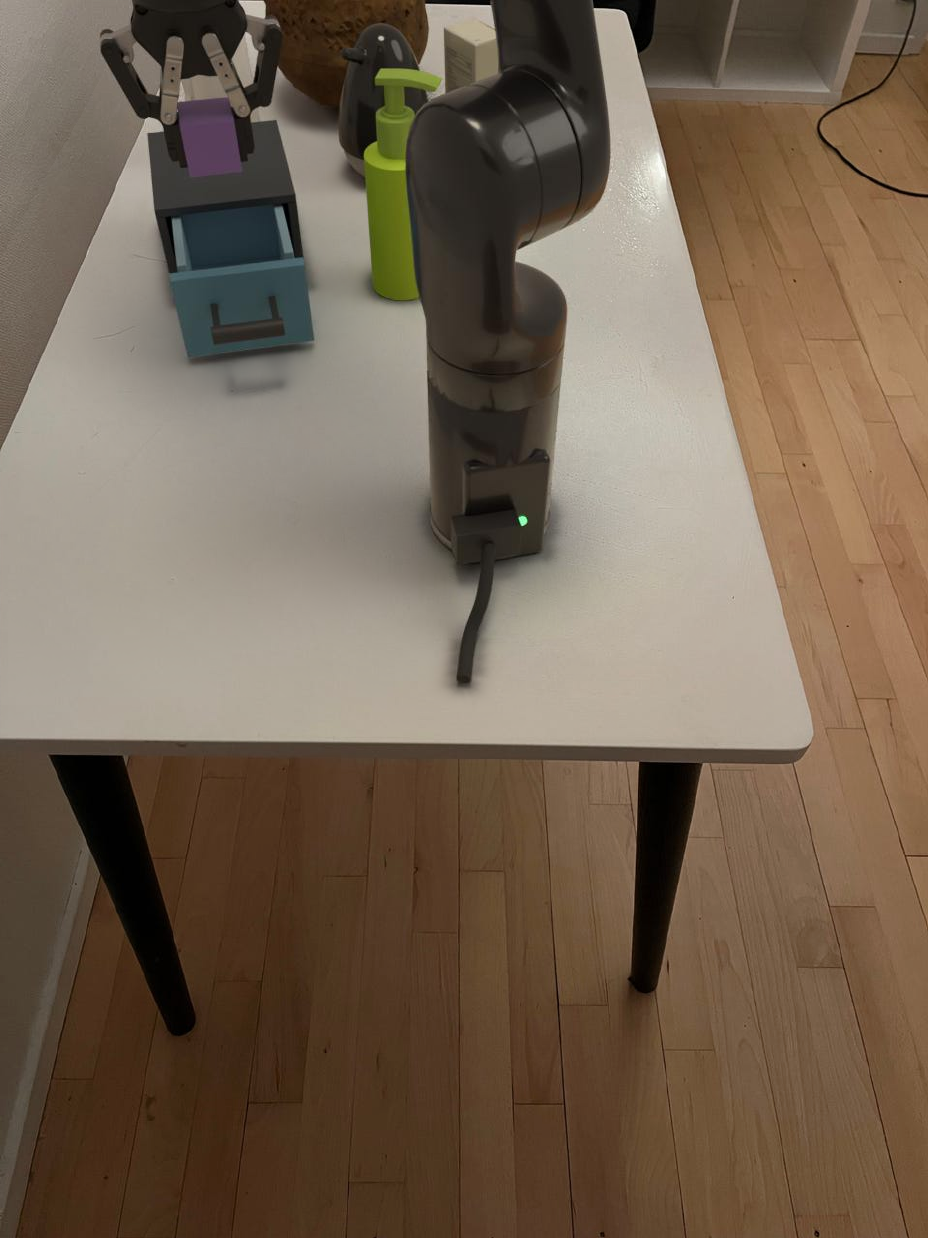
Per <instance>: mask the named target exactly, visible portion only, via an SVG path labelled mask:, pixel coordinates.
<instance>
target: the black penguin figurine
mask: <svg viewBox="0 0 928 1238" xmlns="http://www.w3.org/2000/svg"><path fill="white" fill-rule="evenodd" d="M341 57H342V59H344V60H348V62H347V66H346V70H345V74H344V79H343V84H342V90H341V96H340V105H339V108H338V122H337V124H338V125H337V126H338V127H337V130H338V134H337V135H338V142H339V145H340V147H341V149H342V150H343V153H344V155H345V157H346V159H347V161H348V163H349V164H350V166H351V167H352V168H353V169H354V171H356V173H357V174H359V175H360V176H362V177H363V178H365V165H364V152H365V150H366V148H367V147H368V146H369V145H371V144H372V143H374V142H377V130H376V112H377V111H378V110H379V109H380V108H382V107H384V106H385V97H384V86H381V85H375V77H376V76H377V74H378V72H379V70H380V69H412V70H418V71H421V68H420V64H419V65H418V63H417V60H416V58H415V55H414V53H413V51H412V49H411V47H410V45H409V43H408V41H407V40H406V38H405V37H404V35H403V34H402V33H401V32H400V31H399V30H398V29H397V28H396V27H394V26H392V25H390V24H386V23H375V24H372V25H370V26H368V27H366V28H365V29H364V30H362V32H361V33H360V34H359V36H358V37H357V39H356V41H355V43H354V45H353V47H352V48H343V49H342V50H341ZM404 99H405V106H407V107H409V108H411V109H412V110H413V111H414V113H415V114H416V113H417V111H418V110H419V109H420V108H421V107H422V106H423V105H424V104H425V103H426V102H428V101H429V96H428V91H427V90H424V89H420V88H414V87H404Z"/></svg>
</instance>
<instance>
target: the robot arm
mask: <svg viewBox="0 0 928 1238" xmlns="http://www.w3.org/2000/svg"><path fill="white" fill-rule="evenodd" d="M131 3H132V13H131V16H130V21H129V22H130V23H129V24H128V25H126V26H124V27H121V28H119V29H117V30H115V31H113V30H112V29H110V28H104V29H102V30H101V31H100V33H99V46H100V47H99V49H100V54H101V56H102V58H103V59H104V61H105V63H106V64H107V66H108V68H109V70H110V72H111V74H112V75H113V76H114V79H115V80H116V82H117V84H118V85H119V88H120V89H121V91H122V92H123V94H124V96H125V98H126V100H127V101H128V103H129V104H130V107H131V108H132V110H133V112H134V113H135V115H136V116H137V117H138V118H140V119H141V120H145V119H148V118H150V119H155V120H157V121H158V122H159V123H160V124H161V127H162V131H164V135H165V140H166V144H167V149H168V154H169V157H170V158H171V160H172V161H173V162H176V161H179V164H180V168H188V165H187V160H186V155H185V150H184V145H183V140H182V135H181V130H180V125H179V118H178V111H177V106H178V102H179V97H180V91H181V90H180V89H181V79H189V78H192V77H194V76H197V75H203V76H209V77H211V76H218V78H219V80H220V82H221V84H222V87H223V89H224V91H225V92H226V94H227V96H228V98H229V100H230V102H231V104H232V106H231V109H232V114H233V118H234V124H235V130H236V136H237V142H238V148H239V155H240V161H241V162H246V161H248V156H247V154H252V153H253V152H254V148H255V145H254V139H253V132H252V125H251V119H250V116H251V113H252V111H253V110H254V109H256V108H258V109H259V107H260V108H266V107H270V105H271V104H272V101H273V94H274V89H275V83H276V78H277V73H278V62H279V56H280V50H281V45H282V39H283V35H282V32H281V28H280V24H279V22H278V19H277V18H276V17H275V16H273V15H268V16H266V17H265V16H264V18H263V17H259V16H254V15H250V14H246V11H245V8H244V7H243V6H242V4H241V3H240V0H239V1H238V0H131ZM489 3H490V7H491V12H492V20H493V26H494V29H495V33H496V41H497V51H498V74H496V75H493V76H490V77H488V78H485V79H482V80H480V81H477V82H474V83H471V84H469V85H466V86H464V87H460V88H458V89H455V90H453V91H450V92H447V93H445V92H444V93H443V94H440V95H438V96H436V97H433V98H431V99H430V100H429V99H428V100H429V101H428V102H426V103H425V104H424V105H423V106H422V107H421V108H420V109H419V110H418V111H417V113H416V114H415V116H414V118H413V120H412V123H411V126H410V129H409V133H408V137H407V144H406V154H405V173H406V188H407V199H408V208H409V218H410V228H411V239H412V251H413V263H414V275H415V281H416V286H417V290H418V294H419V298H418V299H419V301H420V304H421V307H422V311H423V315H424V318H425V332H426V333H425V334H426V335H425V336H426V337H425V338H426V341H425V342H426V383H427V384H426V385H427V386H426V387H427V419H428V420H427V421H428V422H427V423H428V456H429V457H428V458H429V486H430V504H429V522H430V525H431V528H432V531H433V533H434V534H435V535H436V537H437V538H438V539H439V540H440V542H441V543H442V544H443V545H445V546H446V547H447V548H449V549H450V550H451V551H452V553H453V557H454V560H455V564H456V565H457V566H460V565H465V564H466V565H470V564H471V565H472V564H477V563H479V564H480V567H479V576H478V578H479V579H478V584H477V588H476V589H477V590H476V594H475V599H474V602H473V605H472V608H471V611H470V613H469V615H468V617H467V620H466V623H465V626H464V630H463V634H462V637H461V643H460V648H459V654H458V662H457V663H458V664H457V671H456V677H455V678H456V681H457V682H458V683H460V684H463V685H466V684H470V682H471V681H472V672H473V663H474V655H475V649H476V642H477V638H478V634H479V630H480V628H481V625H482V623H483V620H484V618H485V616H486V612H487V609H488V607H489V603H490V600H491V594H492V589H493V582H494V573H495V562H496V560H502V559H503V560H504V559H509V558H513V557H518V556H523V555H529V554H536V553H540V552H542V551H543V550H544V540H545V539H544V538H545V535H546V533H547V531H548V528H549V525H550V519H551V508H550V504H551V494H552V485H553V484H552V481H553V469H554V460H555V448H556V439H557V427H558V415H559V407H560V406H559V404H560V396H561V395H560V394H561V386H562V385H561V383H562V377H563V376H562V375H563V365H564V354H565V343H566V335H567V325H568V303H567V299H566V296H565V294H564V291H563V289H562V288H561V286H560V285H559V284H558V282H556V280H554V279H553V278H552V277H551V276H550V275H548V274H547V273H545V272H544V271H542V270H540V269H538V268H536V267H534V266H531V265H529V264H526V263H524V262H523V263H522V262H519V261H516V258H517V251H519V250H521V249H523V248H525V247H528V246H529V245H532V244H534V243H536V242H538V241H540V240H543V239H544V238H547V237H550V236H551V235H553V234H556V233H557V232H560V231H562V230H564V229H565V228H567V227H570V226H572V225H574V224H576V223H578V222H580V221H581V220H583V219H584V218H586V217H587V216H588V215H589V214H590V213H592V212H593V211H594V210H595V209H596V207H597V206H598V204H599V203H600V201H601V200H602V198H603V195H604V193H605V191H606V189H607V188H606V187H607V185H608V179H609V175H610V169H611V168H610V167H611V155H612V154H611V153H612V152H611V150H612V149H611V147H612V146H611V128H610V116H609V107H608V99H607V92H606V84H605V78H604V77H605V76H604V70H603V63H602V55H601V50H600V43H599V36H598V29H597V22H596V15H595V9H594V1H593V0H489ZM246 33H247V34H248V35H250V36H251V42H252V46H253V48H254V50H256V51H257V56H256V61H255V62H256V63H255V68H254V76H253V84H251V85H249V86H247V87H245V88H244V87H243V85H242V83H241V80H240V78H239V76H238V74H237V71H236V68H235V66H234V63H233V61H232V58H233V56H234V54H235V52H236V50H237V48H238V46H239V44H240V42H241V40H242V38H243V36H244V34H245V35H246ZM135 43H138V44H139V46H140V47H142V48H143V50H144V51H146V53H147V54H148V55H150V57H151V58H152V59H153V60H154V61H155V62H156V63H157V64H158V65H159V66H160V70H159V71H160V72H159V73H160V75H159V78H160V79H159V94H158V95H155V94H152V93H149V91H148V90H147V88H146V87H145V86H146V85H144V83H143V81H142V79H141V77H140V76H139V74H138V72H137V70H136V69H135V67H134V65H133V61H134V60H135V50H134V45H135Z"/></svg>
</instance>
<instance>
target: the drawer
mask: <svg viewBox="0 0 928 1238" xmlns="http://www.w3.org/2000/svg"><path fill="white" fill-rule="evenodd" d="M171 218H172V227H173V236H174V246H175V255H176V264H177V269H178V273H170V274H169V273H168V279H169V285H170V289H171V293H172V297H173V302H174V306H175V310H176V314H177V319H178V322H179V327H180V331H181V335H182V340H183V344H184V347H185V352H186V356H187V358H196V357H203V356H209V355H210V356H211V355H216V354H225V353H231V352H241V351H247V350H254V349H255V350H256V349H262V348H269V347H270V348H271V347H276V346H284V345H291V344H299V343H300V344H301V343H306V342H307V343H308V342H313V341H315V334H314V325H313V317H312V311H311V309H312V308H311V302H310V295H309V294H310V292H309V285H308V278H307V269H306V264H305V260H304V259H305V258H304V256H303V257H301V258H294V253H293V248H292V244H291V240H290V236H289V232H288V227H287V223H286V219H285V215H284V211H283V206H282V204H273V205H264V206H256V207H247V208H238V209H229V210H221V211H212V212H203V213H195V214H186V215H177V216H171ZM303 258H304V259H303Z"/></svg>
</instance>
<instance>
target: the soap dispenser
mask: <svg viewBox="0 0 928 1238" xmlns="http://www.w3.org/2000/svg"><path fill="white" fill-rule="evenodd" d="M442 81H443V78H442V77H440V76H437V75H435V74H432V73H429V72H426V71H422V70H420V71H418V70H412V69H380V70H379V72H378V74H377V76H376V77H375V85H381V86H384V97H385V106H384V107H382V108H380V109H379V110H378V111H377V112H376V130H377V142H374V143H372V144H371V145H369V146H368V147H367V148H366V150H365V152H364V165H365V177H364V178H365V192H366V193H365V194H366V207H367V208H366V209H367V219H368V221H367V223H368V234H369V235H368V236H369V250H370V263H371V264H370V265H371V278H372V287H373V290H374V291H375V292H376V293H377V294H378V295H379V296H381V297H383V298H386V299H389V300H394V301H411V300H415V299H420V298H419V294H418V290H417V286H416V281H415V275H414V263H413V251H412V239H411V228H410V218H409V208H408V199H407V188H406V173H405V154H406V144H407V137H408V133H409V129H410V126H411V123H412V120H413V118H414V116H415V113H414V111H413V110H412V109H411V108H409V107H407V106H405V99H404V87H414V88H420V89H424V90H426V91H427V92H431V93H434V92H436V91H437V90H438V89H439V87H440V85H441V82H442Z"/></svg>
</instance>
